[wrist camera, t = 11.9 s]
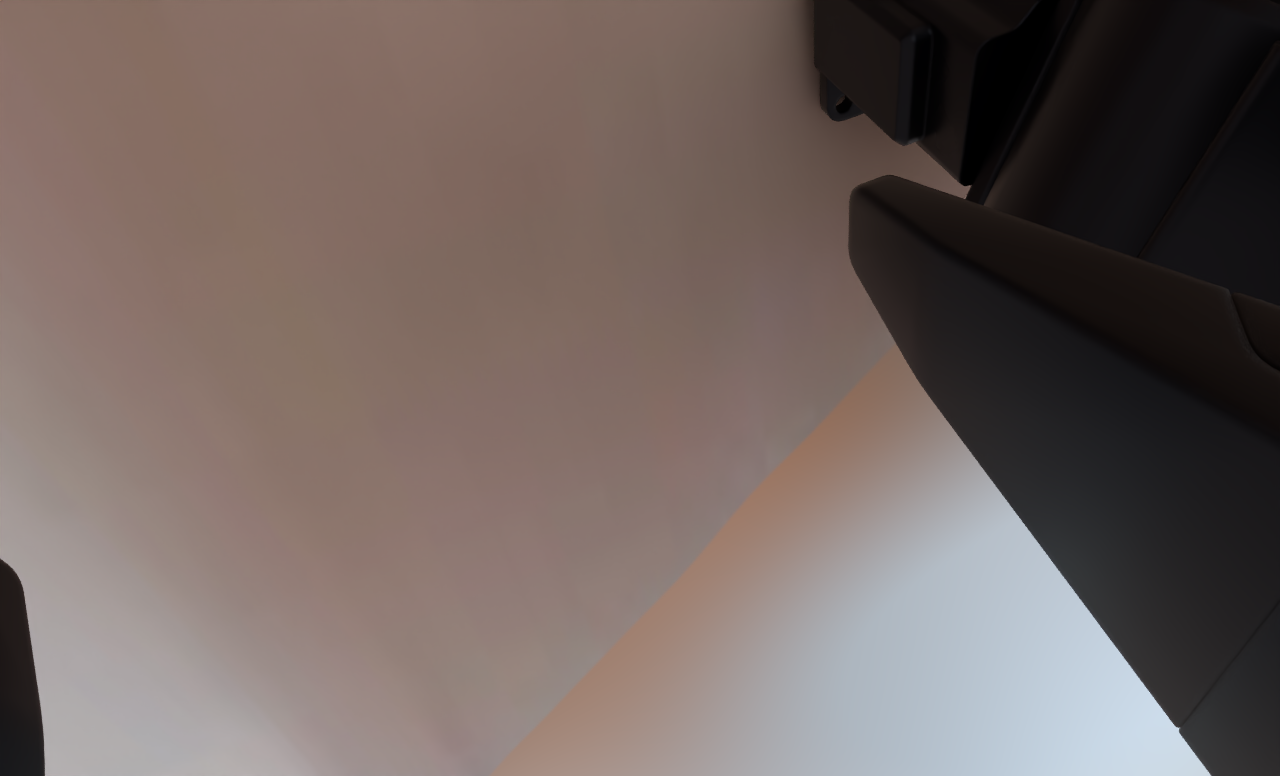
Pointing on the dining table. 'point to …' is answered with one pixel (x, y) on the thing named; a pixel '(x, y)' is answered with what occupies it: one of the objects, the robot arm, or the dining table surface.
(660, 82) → the dining table surface
